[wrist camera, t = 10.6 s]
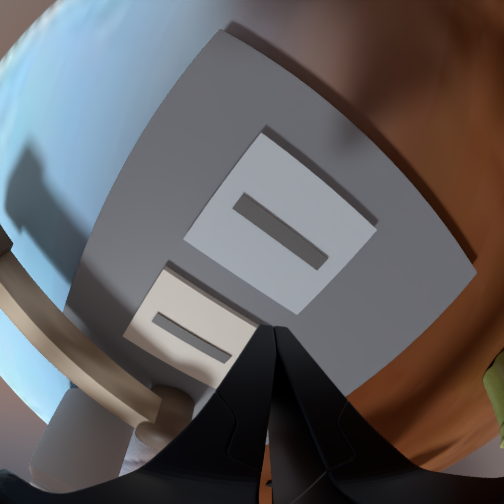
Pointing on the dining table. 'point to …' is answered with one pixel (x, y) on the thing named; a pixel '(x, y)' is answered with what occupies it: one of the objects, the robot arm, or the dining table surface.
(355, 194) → the panel
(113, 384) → the bar
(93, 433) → the can
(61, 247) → the dining table surface
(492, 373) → the plant pot
